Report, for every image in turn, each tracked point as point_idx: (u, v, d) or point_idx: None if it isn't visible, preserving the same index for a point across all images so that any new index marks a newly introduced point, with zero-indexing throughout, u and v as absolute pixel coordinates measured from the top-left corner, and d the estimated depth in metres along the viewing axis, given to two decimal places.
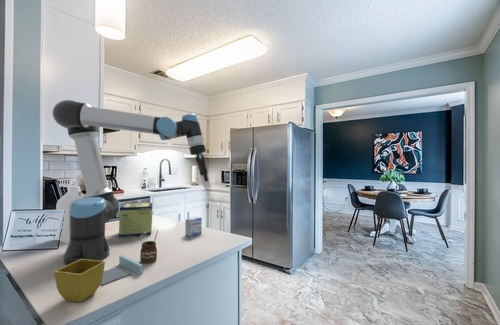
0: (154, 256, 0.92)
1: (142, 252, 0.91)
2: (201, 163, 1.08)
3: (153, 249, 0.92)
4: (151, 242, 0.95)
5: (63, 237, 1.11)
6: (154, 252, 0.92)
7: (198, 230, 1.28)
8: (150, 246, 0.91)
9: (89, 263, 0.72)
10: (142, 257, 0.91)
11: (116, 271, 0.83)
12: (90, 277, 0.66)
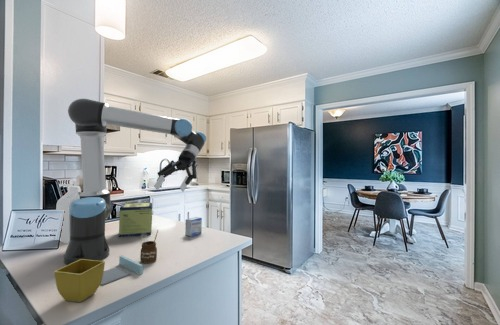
0: (154, 256, 0.92)
1: (142, 252, 0.91)
2: (195, 168, 1.08)
3: (153, 249, 0.92)
4: (151, 242, 0.95)
5: (63, 237, 1.11)
6: (154, 252, 0.92)
7: (198, 230, 1.28)
8: (150, 246, 0.91)
9: (89, 263, 0.72)
10: (142, 257, 0.91)
11: (116, 271, 0.83)
12: (90, 277, 0.66)
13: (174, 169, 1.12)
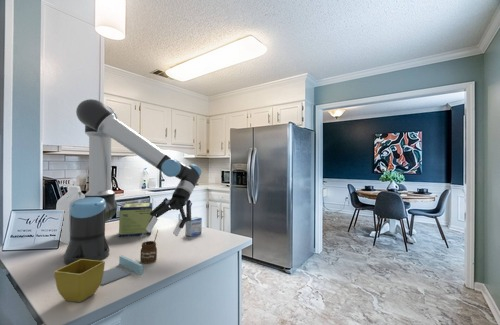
0: (154, 256, 0.92)
1: (142, 252, 0.91)
2: (189, 209, 1.03)
3: (153, 249, 0.92)
4: (151, 242, 0.95)
5: (63, 237, 1.11)
6: (154, 252, 0.92)
7: (198, 230, 1.28)
8: (150, 246, 0.91)
9: (89, 263, 0.72)
10: (142, 257, 0.91)
11: (116, 271, 0.83)
12: (90, 277, 0.66)
13: (167, 208, 1.07)
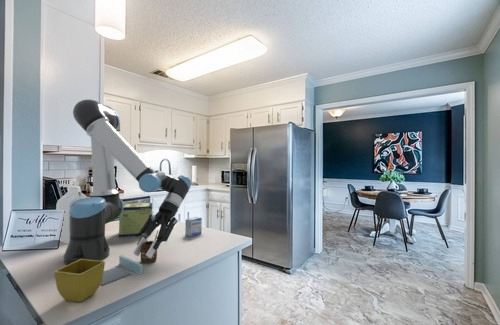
0: (154, 256, 0.92)
1: (142, 252, 0.91)
2: (170, 228, 0.96)
3: None
4: (151, 242, 0.95)
5: (63, 237, 1.11)
6: (154, 252, 0.92)
7: (198, 230, 1.28)
8: (150, 246, 0.91)
9: (89, 263, 0.72)
10: (142, 257, 0.91)
11: (116, 271, 0.83)
12: (90, 277, 0.66)
13: (155, 225, 0.99)
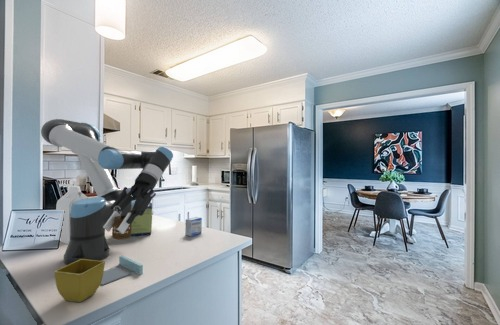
0: (128, 232, 0.82)
1: (114, 227, 0.80)
2: (146, 201, 0.85)
3: None
4: None
5: (63, 237, 1.11)
6: (128, 227, 0.82)
7: (198, 230, 1.28)
8: None
9: (89, 263, 0.72)
10: (114, 232, 0.80)
11: (116, 271, 0.83)
12: (90, 277, 0.66)
13: (131, 198, 0.88)
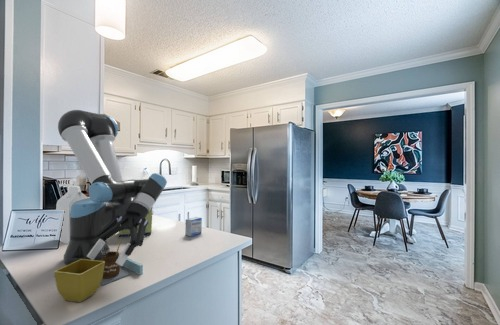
0: (116, 269, 0.79)
1: None
2: (142, 230, 0.83)
3: (115, 261, 0.79)
4: (114, 253, 0.83)
5: (63, 237, 1.11)
6: (116, 265, 0.79)
7: (198, 230, 1.28)
8: (111, 258, 0.78)
9: (89, 263, 0.72)
10: None
11: None
12: (90, 277, 0.66)
13: (118, 228, 0.87)
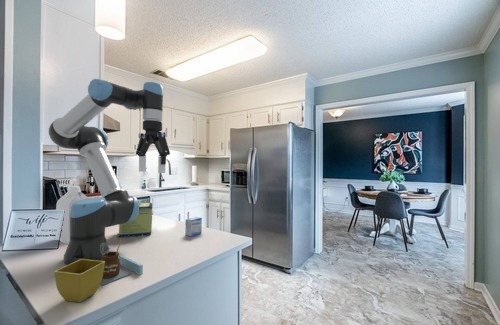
0: (116, 269, 0.79)
1: None
2: (163, 142, 0.93)
3: (115, 261, 0.79)
4: (114, 253, 0.83)
5: (63, 237, 1.11)
6: (116, 265, 0.79)
7: (198, 230, 1.28)
8: (111, 258, 0.78)
9: (89, 263, 0.72)
10: None
11: None
12: (90, 277, 0.66)
13: (147, 144, 1.00)
